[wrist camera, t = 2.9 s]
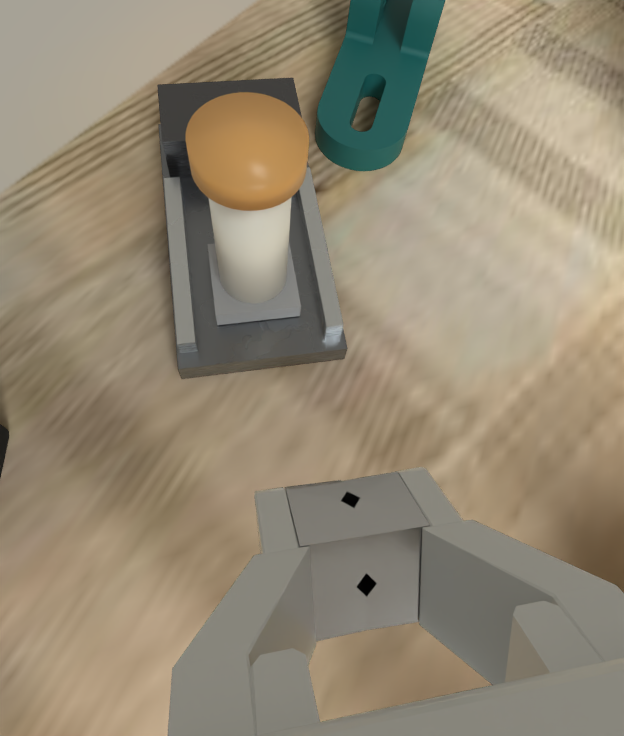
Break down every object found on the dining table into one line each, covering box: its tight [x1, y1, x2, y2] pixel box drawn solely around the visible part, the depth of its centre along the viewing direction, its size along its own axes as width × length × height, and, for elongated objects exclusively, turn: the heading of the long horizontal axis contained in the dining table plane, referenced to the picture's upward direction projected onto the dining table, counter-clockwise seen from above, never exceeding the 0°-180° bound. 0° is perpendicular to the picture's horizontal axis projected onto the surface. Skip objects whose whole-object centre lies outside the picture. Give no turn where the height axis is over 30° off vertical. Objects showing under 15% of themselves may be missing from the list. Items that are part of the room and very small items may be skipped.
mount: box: [158, 78, 347, 379], centre depth 35 cm, size 19×10×5 cm, turn 10°
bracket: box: [315, 0, 445, 171], centre depth 41 cm, size 18×7×8 cm, turn 164°
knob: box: [185, 92, 309, 325], centre depth 29 cm, size 5×5×12 cm
